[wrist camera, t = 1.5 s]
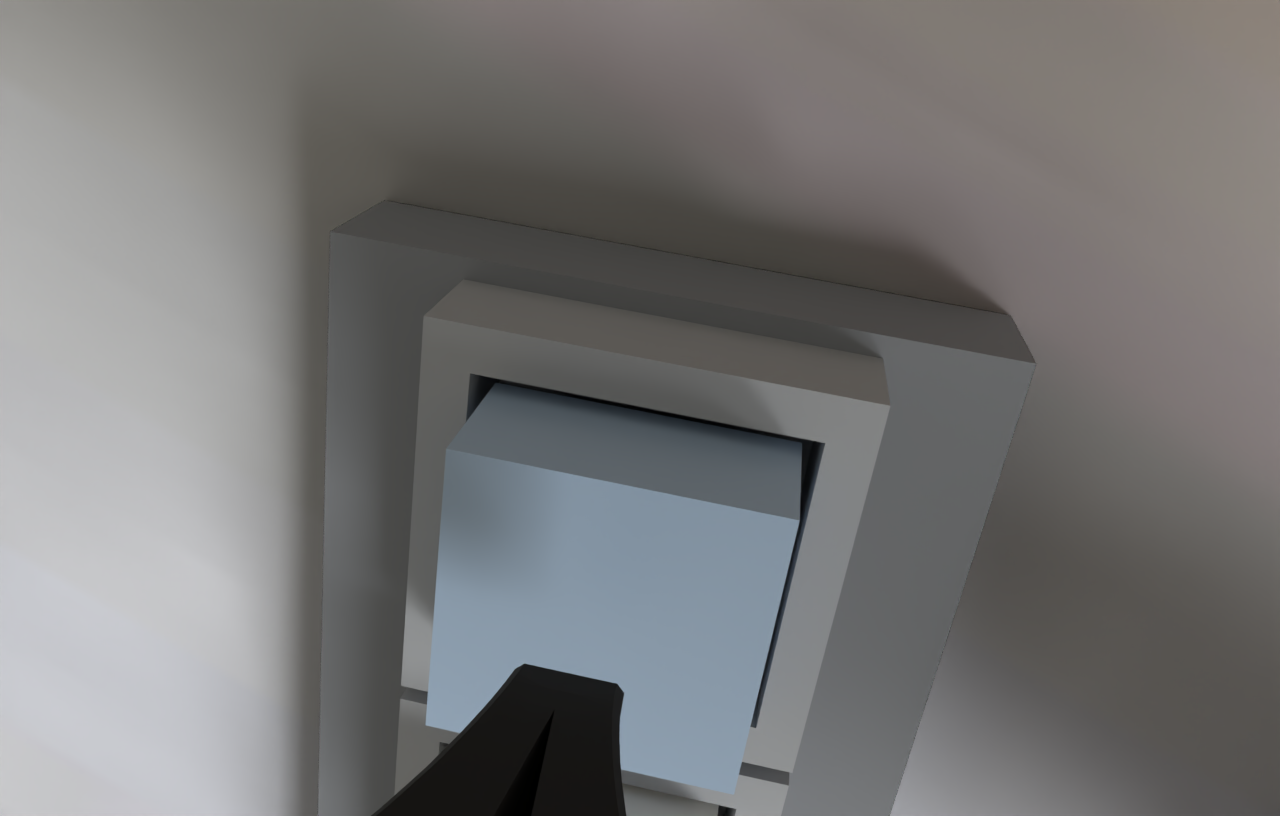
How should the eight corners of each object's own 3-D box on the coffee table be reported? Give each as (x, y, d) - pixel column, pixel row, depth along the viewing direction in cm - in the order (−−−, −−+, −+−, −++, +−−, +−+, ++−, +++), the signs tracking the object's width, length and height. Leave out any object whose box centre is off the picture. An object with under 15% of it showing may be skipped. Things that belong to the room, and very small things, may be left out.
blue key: (802, 442, 17) (800, 520, 14) (744, 692, 19) (733, 795, 16) (495, 382, 17) (446, 448, 15) (472, 633, 19) (425, 725, 17)
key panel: (1010, 315, 19) (1062, 412, 15) (769, 1101, 29) (761, 1290, 25) (384, 200, 20) (275, 262, 16) (350, 996, 30) (276, 1162, 26)
